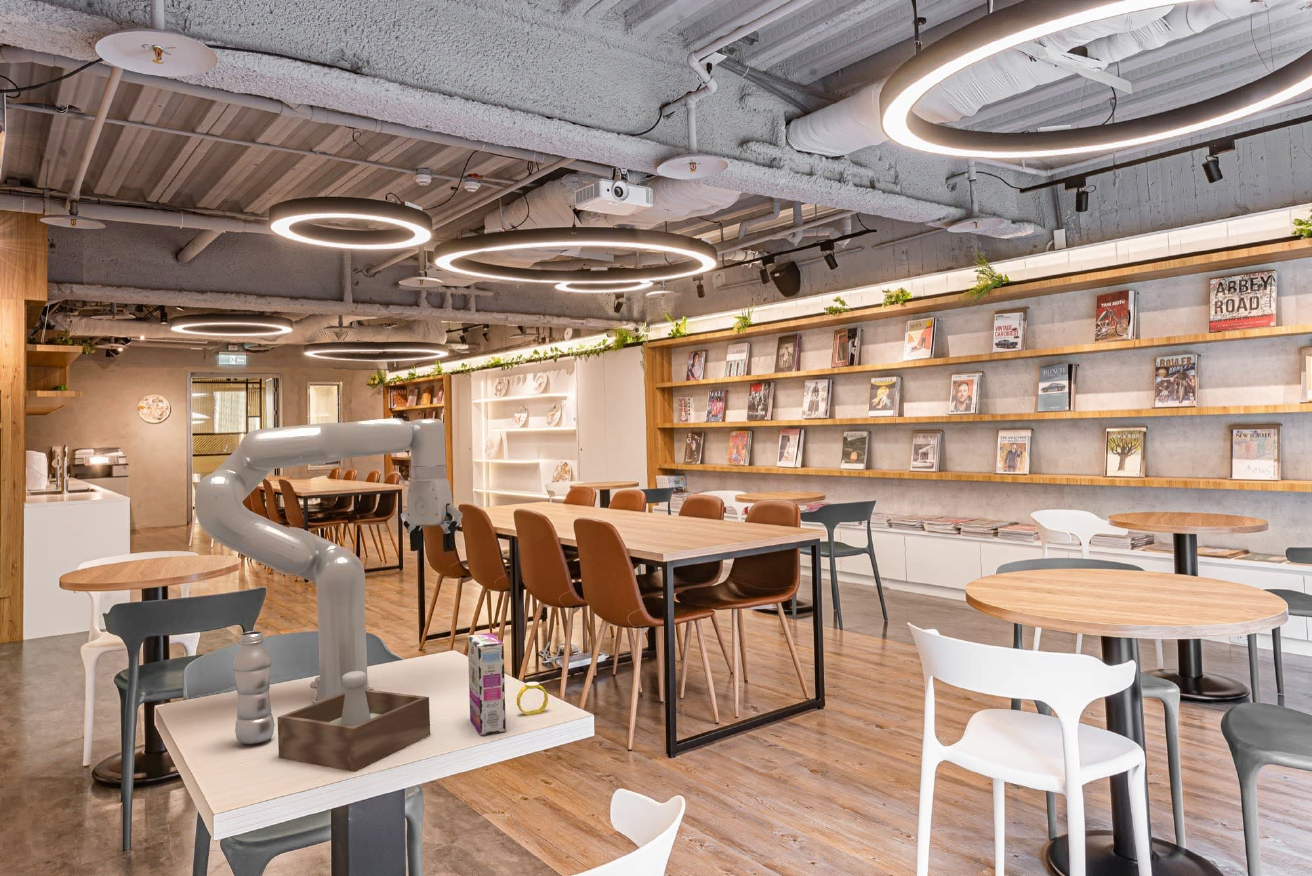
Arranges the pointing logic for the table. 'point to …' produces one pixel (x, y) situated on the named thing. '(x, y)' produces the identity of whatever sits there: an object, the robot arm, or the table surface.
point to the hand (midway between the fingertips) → (432, 550)
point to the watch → (532, 686)
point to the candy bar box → (486, 683)
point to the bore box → (353, 730)
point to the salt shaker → (355, 699)
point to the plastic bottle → (253, 690)
